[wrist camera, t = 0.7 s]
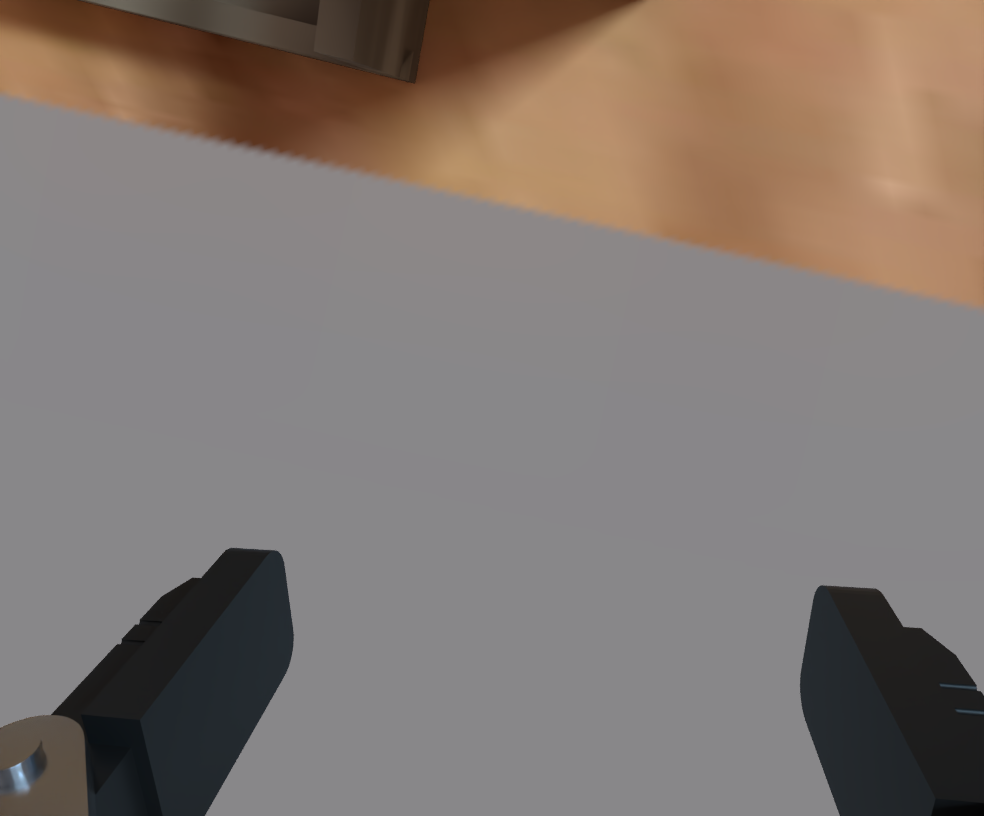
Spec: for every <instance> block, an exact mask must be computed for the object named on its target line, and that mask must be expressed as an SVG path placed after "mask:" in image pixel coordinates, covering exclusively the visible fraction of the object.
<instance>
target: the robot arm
mask: <svg viewBox="0 0 984 816" xmlns="http://www.w3.org/2000/svg"><path fill="white" fill-rule="evenodd" d="M293 636H294V634H293V625H292V618H291V610H290V603H289V596H288V589H287V581H286V573H285V566H284V561H283V558H282V556H281V554H280V553H279V552H278V551H274V550H258V549H241V548H230V549H228V550H226V551H225V552H224V553H223V554H222V555H221V556H220V557H219V558H218V560H217V561H216V562H215V563H214V564H213V565H212V566H211V568H210V569H209V570H208V571H207V572H206V573H205V574H204V576H203V577H202V578H191V579H190V580H188V581H186V582H185V583H183V584H182V585H180V586H178V587H177V588H175V589H173V590H172V591H170V592H168V593H167V594H165V595H163V596H162V597H161V598H160V599H159V600H158V601H157V602H156V603H155V604H154V605H153V606H152V607H151V609H150V610H149V611H148V612H147V613H146V614H145V615H144V616H143V617H142V618H141V619H140V623H139V625H135V626H134V627H133V628H132V629H131V630H130V631H129V632H128V633H127V634H126V635H125V636H124V637H123V638H122V643H121V644H117V645H116V646H115V647H114V648H113V649H112V650H111V651H110V652H109V653H108V655H107V656H106V657H105V658H104V659H103V660H102V661H101V662H100V663H99V664H98V665H97V666H96V667H95V668H94V670H93V671H92V672H91V673H90V674H89V675H88V676H87V677H86V678H85V679H84V680H83V681H82V682H81V684H79V686H78V687H77V688H76V689H75V690H74V691H73V692H72V693H71V694H70V695H69V696H68V697H67V698H66V700H65V701H64V702H63V703H62V704H61V705H60V706H59V707H58V708H57V709H56V710H55V711H54V712H53V714H51V715H43V716H36V717H30V718H26V719H23V720H19V721H16V722H13V723H11V724H8V725H6V726H3V727H1V728H0V816H205V814H206V812H207V811H208V809H209V807H210V806H211V804H212V802H213V800H214V799H215V797H216V795H217V793H218V792H219V790H220V788H221V786H222V785H223V783H224V781H225V779H226V778H227V776H228V774H229V772H230V771H231V769H232V767H233V765H234V764H235V762H236V760H237V758H238V757H239V755H240V753H241V751H242V749H243V747H244V746H245V744H246V743H247V741H248V739H249V737H250V735H251V734H252V732H253V730H254V728H255V727H256V725H257V723H258V721H259V720H260V718H261V716H262V714H263V713H264V711H265V709H266V707H267V706H268V704H269V702H270V700H271V699H272V697H273V695H274V693H275V692H276V690H277V688H278V686H279V685H280V683H281V681H282V679H283V677H284V676H285V674H286V671H287V669H288V667H289V664H290V660H291V656H292V651H293V639H294V638H293ZM800 693H801V703H802V709H803V713H804V717H805V721H806V723H807V726H808V729H809V732H810V734H811V737H812V740H813V742H814V745H815V748H816V751H817V754H818V757H819V759H820V762H821V765H822V767H823V770H824V773H825V776H826V779H827V781H828V784H829V787H830V790H831V792H832V795H833V798H834V801H835V803H836V806H837V809H838V811H839V814H840V816H984V695H983V694H982V692H981V691H977V688H976V684H975V682H974V681H973V679H972V678H971V677H970V675H969V674H968V672H967V671H966V670H965V668H964V667H963V665H962V664H961V662H960V661H959V659H958V658H957V656H956V655H955V654H953V653H952V652H951V651H950V650H948V649H947V648H946V647H945V646H943V645H942V644H941V643H939V642H938V641H937V640H936V639H934V638H933V637H932V636H931V635H929V634H928V633H926V632H925V631H924V630H923V629H922V628H909V627H903V626H902V624H901V622H900V621H899V619H898V618H897V616H896V615H895V613H894V611H893V610H892V608H891V607H890V605H889V603H888V602H887V600H886V599H885V597H884V596H883V594H882V593H881V592H880V591H879V590H877V589H871V588H854V587H839V586H819V587H818V589H817V590H816V592H815V595H814V599H813V605H812V610H811V616H810V622H809V628H808V634H807V640H806V646H805V652H804V658H803V663H802V669H801V678H800Z"/></svg>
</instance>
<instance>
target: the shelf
mask: <svg viewBox="0 0 984 816" xmlns="http://www.w3.org/2000/svg"><path fill="white" fill-rule="evenodd" d="M79 1H83V2H87V3H91V4H95V5H99V6H103V7H107V8H111V9H116V10H120V11H124V12H128V13H132V14H136V15H140V16H144V17H148V18H152V19H156V20H160V21H164V22H168V23H172V24H176V25H180V26H184V27H188V28H192V29H196V30H200V31H204V32H208V33H213V34H217V35H221V36H225V37H229V38H233V39H237V40H241V41H245V42H249V43H253V44H257V45H261V46H265V47H269V48H273V49H277V50H281V51H285V52H289V53H293V54H297V55H301V56H305V57H310V58H314V59H318V60H322V61H326V62H330V63H334V64H338V65H342V66H346V67H350V68H354V69H358V70H362V71H366V72H370V73H374V74H378V75H382V76H386V77H390V78H394V79H398V80H402V81H406V82H411V83H415V80H416V74H417V68H418V63H419V57H420V51H421V45H422V40H423V34H424V28H425V23H426V17H427V11H428V5H429V0H79Z"/></svg>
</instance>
